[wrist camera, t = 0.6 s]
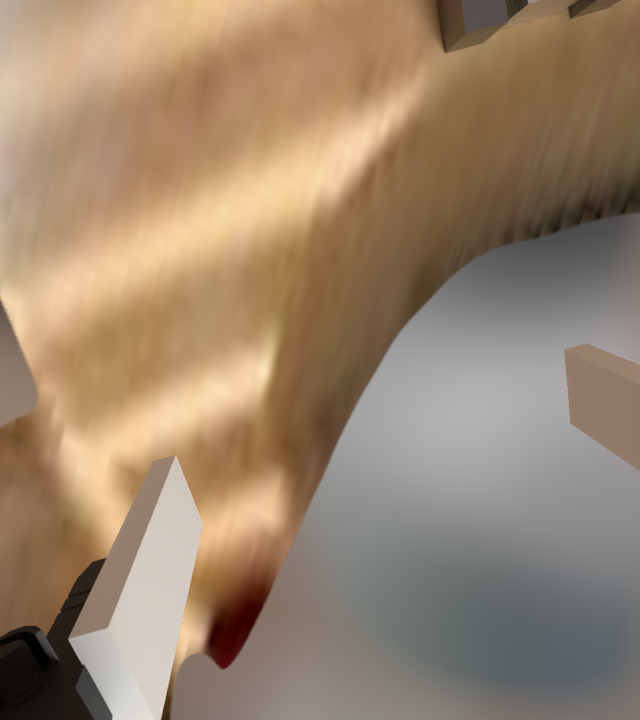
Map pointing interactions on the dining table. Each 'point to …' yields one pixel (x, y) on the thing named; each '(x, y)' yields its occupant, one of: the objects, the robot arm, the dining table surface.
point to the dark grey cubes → (489, 19)
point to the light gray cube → (532, 10)
